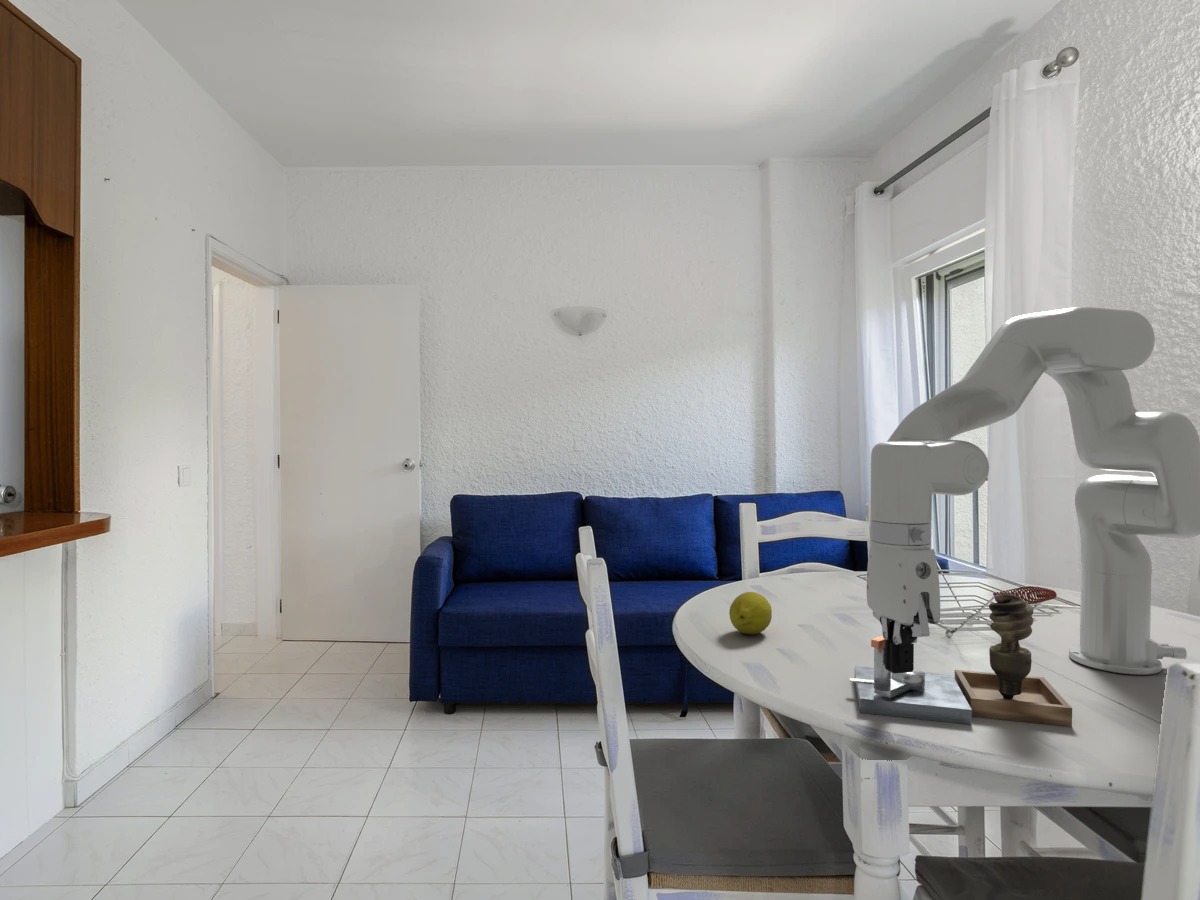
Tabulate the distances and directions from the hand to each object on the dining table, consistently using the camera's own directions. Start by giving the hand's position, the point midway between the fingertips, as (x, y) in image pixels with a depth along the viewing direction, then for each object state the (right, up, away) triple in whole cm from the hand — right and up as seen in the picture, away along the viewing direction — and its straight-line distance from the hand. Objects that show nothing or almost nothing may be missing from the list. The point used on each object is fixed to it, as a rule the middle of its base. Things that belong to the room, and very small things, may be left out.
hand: (899, 670), depth 94 cm
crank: (+2, -5, +6) cm, 8 cm away
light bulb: (+19, -6, +6) cm, 21 cm away
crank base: (+5, -7, +8) cm, 12 cm away
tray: (+18, -7, +6) cm, 21 cm away
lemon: (-11, -6, +41) cm, 43 cm away
